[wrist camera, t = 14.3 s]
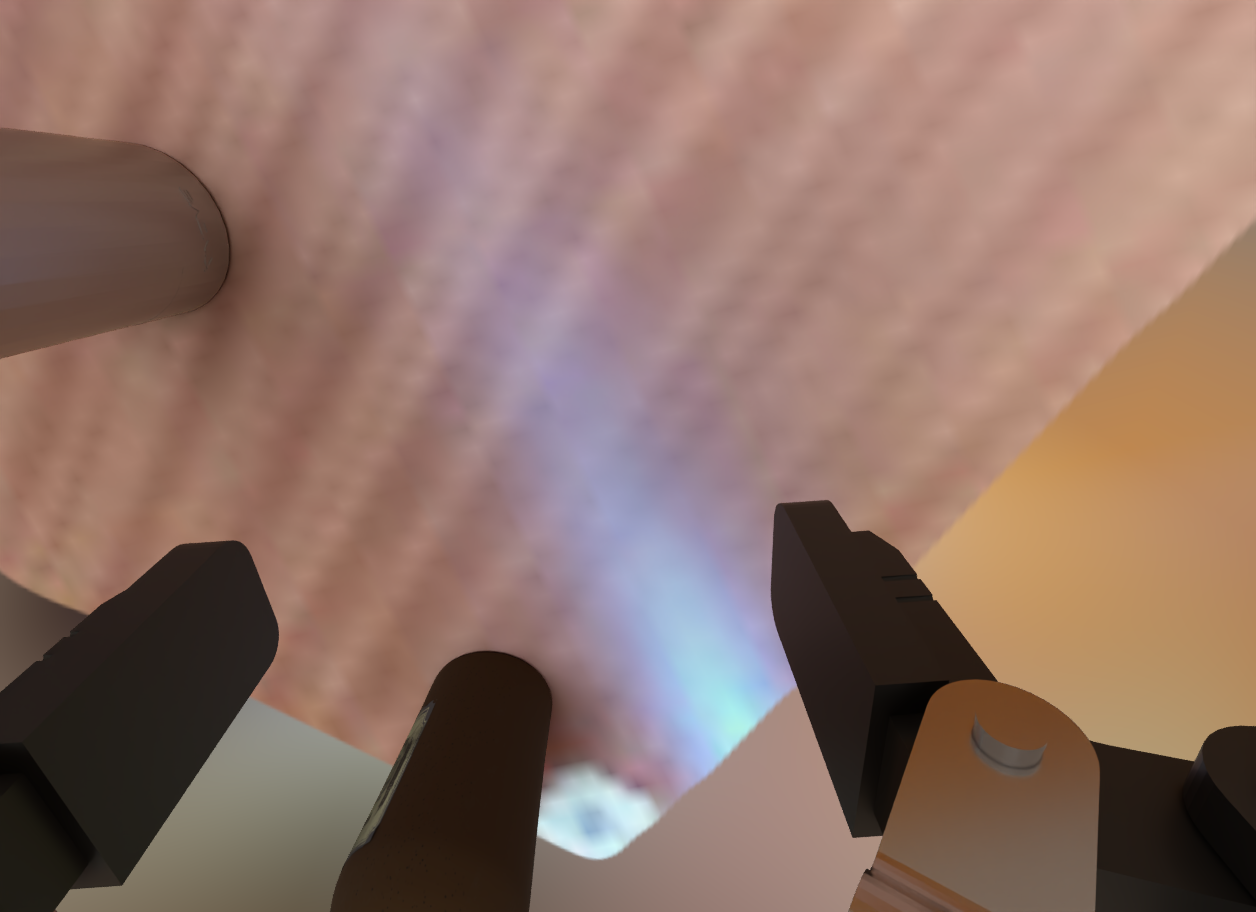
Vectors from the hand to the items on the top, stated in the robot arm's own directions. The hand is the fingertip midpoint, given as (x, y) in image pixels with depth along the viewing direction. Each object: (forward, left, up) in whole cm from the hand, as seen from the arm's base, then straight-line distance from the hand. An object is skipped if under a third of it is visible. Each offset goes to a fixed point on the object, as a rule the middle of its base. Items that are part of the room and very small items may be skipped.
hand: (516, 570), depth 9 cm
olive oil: (-11, -30, -29) cm, 43 cm away
